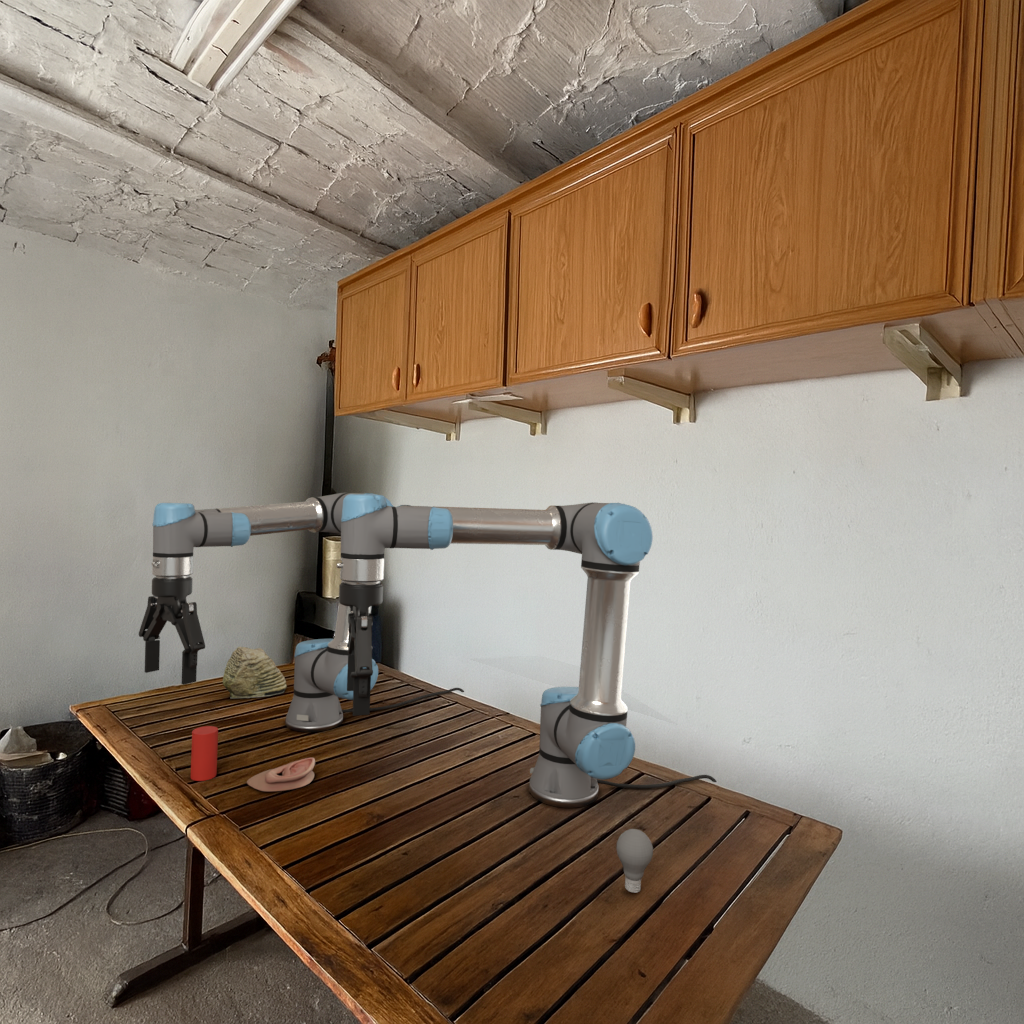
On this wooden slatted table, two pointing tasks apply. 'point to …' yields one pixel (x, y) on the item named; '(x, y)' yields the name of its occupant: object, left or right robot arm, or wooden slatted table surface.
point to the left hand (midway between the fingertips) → (169, 677)
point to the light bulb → (634, 857)
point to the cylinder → (204, 753)
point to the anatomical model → (284, 776)
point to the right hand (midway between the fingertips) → (357, 701)
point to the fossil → (252, 674)
